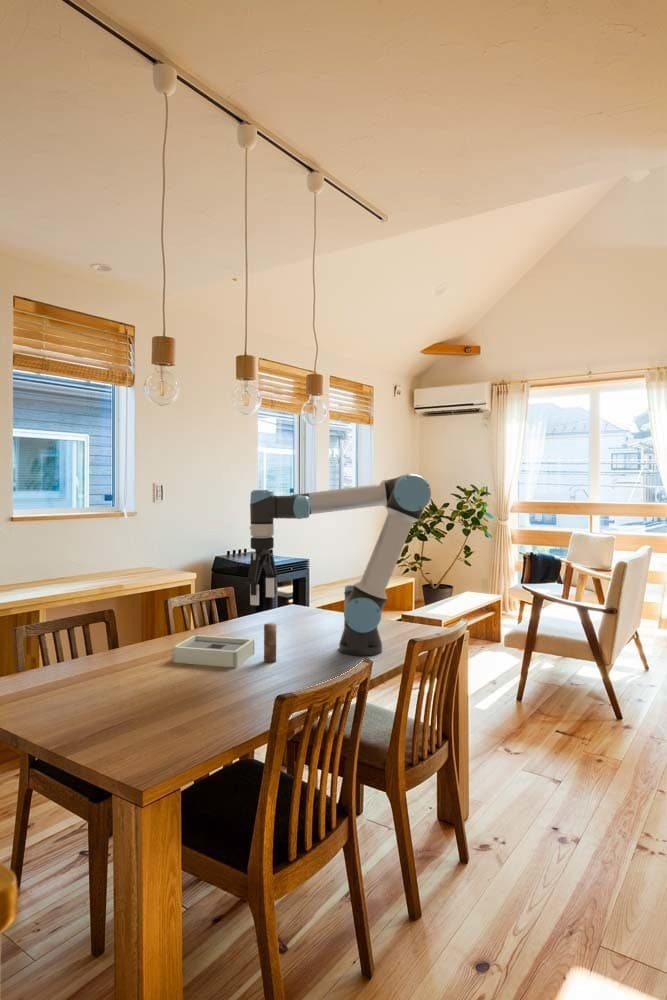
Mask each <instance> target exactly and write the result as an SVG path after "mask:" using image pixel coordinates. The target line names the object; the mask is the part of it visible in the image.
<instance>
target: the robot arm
mask: <svg viewBox="0 0 667 1000" xmlns="http://www.w3.org/2000/svg"><path fill="white" fill-rule="evenodd" d="M431 497H432V491H431V486H430V484H429V482H428V481H427V479H425V478H424V477H423V476H422V475H419V474H416V473H407V474H406V473H405V474H403V475H400V476H398V477H394V478H390V479H384V480H382V481H381V482H380V483H375V484H368V485H360V486H352V487H346V488H344V487H343V488H338V489H329V490H323V491H322V490H321V491H314V492H308V493H295V494H291V495H275V493H274V490H272V489H255V490H254V489H252V491H251V492H250V503H249V509H250V511H249V512H250V513H249V514H250V526H249V530H250V536H251V538H250V549H252V550H255V551H254V552H253V553H252V552H251V553H250V563H249V568H248V573H247V579H246V585H248V586H249V590H250V591H249V599H250V600H249V601H250V602H249V603H250V606H259V605H260V584H259V580H260V576H261V573H262V569H263V570H264V572H265V576H266V577H265V598H274V597H275V579H276V578H277V577H278V576H277V568H276V563H275V558H274V547H275V546H274V545H275V543H274V537H273V536H274V534H275V532H274V531H275V530H274V519H276V520H277V519H278V520H279V519H285V520H286V519H289V520H291V519H297V520H301V519H302V520H303V519H308V518H310V515H315V514H317V515H318V514H323V513H324V514H325V513H333V512H338V511H339V512H340V511H348V510H355V509H365V508H372V507H381V506H383V507H384V508H386V510H387V516H386V518H385V520H384V522H383V523H384V524H383V525H382V527H381V530H380V532H379V535H378V538H377V540H376V543H375V546H374V547H373V550H372V553H371V556H370V558H369V561H368V563H367V565H366V567H365V570H364V571H363V575H362V577H361V579H360V581H358V582H356V583H354V584H348V585H347V584H346V586H345V587H344V592H343V594H344V610H343V618H344V628H343V631H342V633H341V637H340V640H339V643H338V646H339V647H338V651H340V652H341V653H342V654H346V655H351V656H357V657H358V656H360V657H362V656H364V657H365V656H373V655H378V654H380V653H382V652H383V642H382V640H381V636H380V632H379V629H378V627H379V624H380V622H381V619H382V612H383V609H384V607H385V605H386V602H387V600H388V596H387V593H386V589H387V587H388V585H389V583H390V580H391V578H392V574H393V573H394V570H395V568H396V565H397V563H398V561H399V558H400V556H401V553H402V550H403V548H404V545H405V543H406V540H407V539H408V536H409V533H410V531H411V529H412V526H413V524H414V523H416V522H417V523H418V522H419V521H420V518H421V517H422V514H423V511H424V509H425V507H426V506H428V504H429V503H430V501H431Z"/></svg>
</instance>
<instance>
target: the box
mask: <svg viewBox="0 0 667 1000" xmlns="http://www.w3.org/2000/svg"><path fill="white" fill-rule="evenodd" d="M171 648H172V656H171V657H172V660H171V661H172V663H177V664H188V665H200V666H209V667H222V668H234V669H236V668H238V667H239V666H240V665H241V664H243V663H245V662H246V661H247V660H248V659H249V658H251V657H252V656H253V655H254V654H255V639H253V638H244V637H243V638H240V637H231V636H230V637H227V636H216V635H215V636H214V635H202V634H199V635H198V634H194V635H192V636H190V637H189V638H186V639H184V640H183V641H181V642H179V643H177V644H175V645H174V646H172V647H171Z"/></svg>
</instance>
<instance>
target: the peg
mask: <svg viewBox="0 0 667 1000" xmlns="http://www.w3.org/2000/svg"><path fill="white" fill-rule="evenodd" d="M263 662H264V663H266V664H273V663H276V662H277V623H264V624H263Z"/></svg>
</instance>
